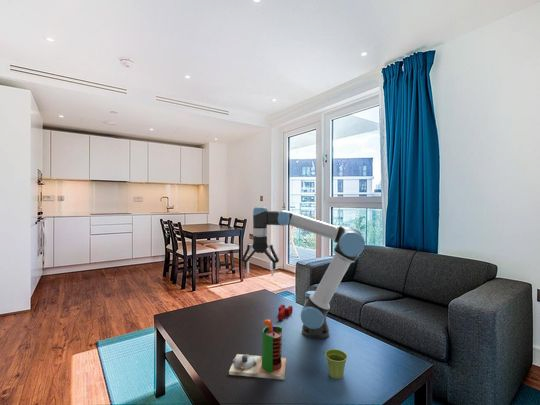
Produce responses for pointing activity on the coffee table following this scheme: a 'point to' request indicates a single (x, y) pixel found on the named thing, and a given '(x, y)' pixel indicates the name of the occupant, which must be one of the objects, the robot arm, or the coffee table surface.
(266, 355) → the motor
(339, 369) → the plant pot
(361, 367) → the coffee table surface
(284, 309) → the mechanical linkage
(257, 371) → the board
